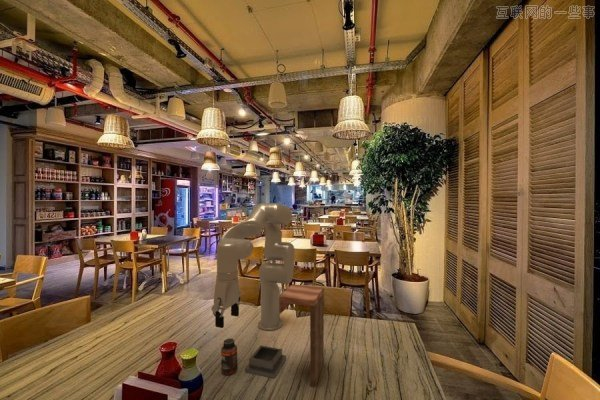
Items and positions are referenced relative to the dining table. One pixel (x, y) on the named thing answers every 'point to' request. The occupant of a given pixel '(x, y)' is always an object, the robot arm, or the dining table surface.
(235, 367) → the supplement bottle
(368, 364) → the dining table surface
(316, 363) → the wooden inverted l post
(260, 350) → the socket
